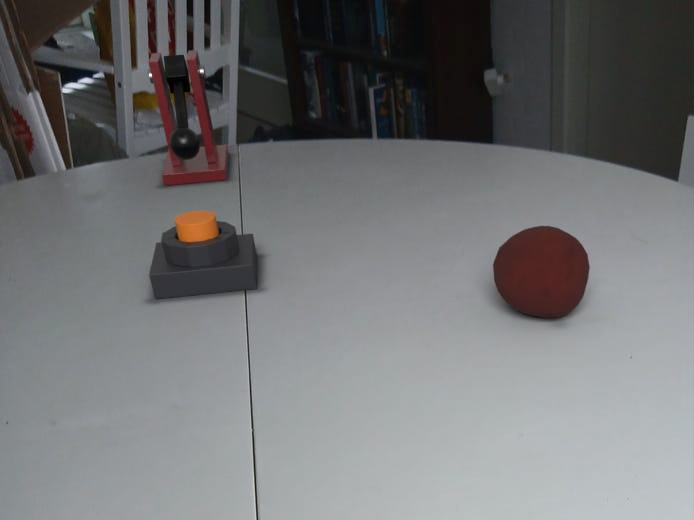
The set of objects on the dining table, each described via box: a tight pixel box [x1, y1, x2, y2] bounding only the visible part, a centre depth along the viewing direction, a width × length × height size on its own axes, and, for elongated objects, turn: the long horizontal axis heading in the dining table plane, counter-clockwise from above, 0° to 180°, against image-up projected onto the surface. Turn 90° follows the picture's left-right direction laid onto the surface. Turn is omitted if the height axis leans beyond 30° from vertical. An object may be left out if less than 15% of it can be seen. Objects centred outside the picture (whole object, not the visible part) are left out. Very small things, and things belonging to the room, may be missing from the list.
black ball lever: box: [163, 54, 201, 160], centre depth 108 cm, size 12×3×3 cm
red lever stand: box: [147, 49, 230, 186], centre depth 112 cm, size 10×7×12 cm
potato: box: [492, 225, 591, 319], centre depth 81 cm, size 7×8×7 cm
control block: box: [148, 220, 258, 300], centre depth 90 cm, size 9×8×4 cm
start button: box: [174, 210, 219, 242], centre depth 88 cm, size 4×4×2 cm
